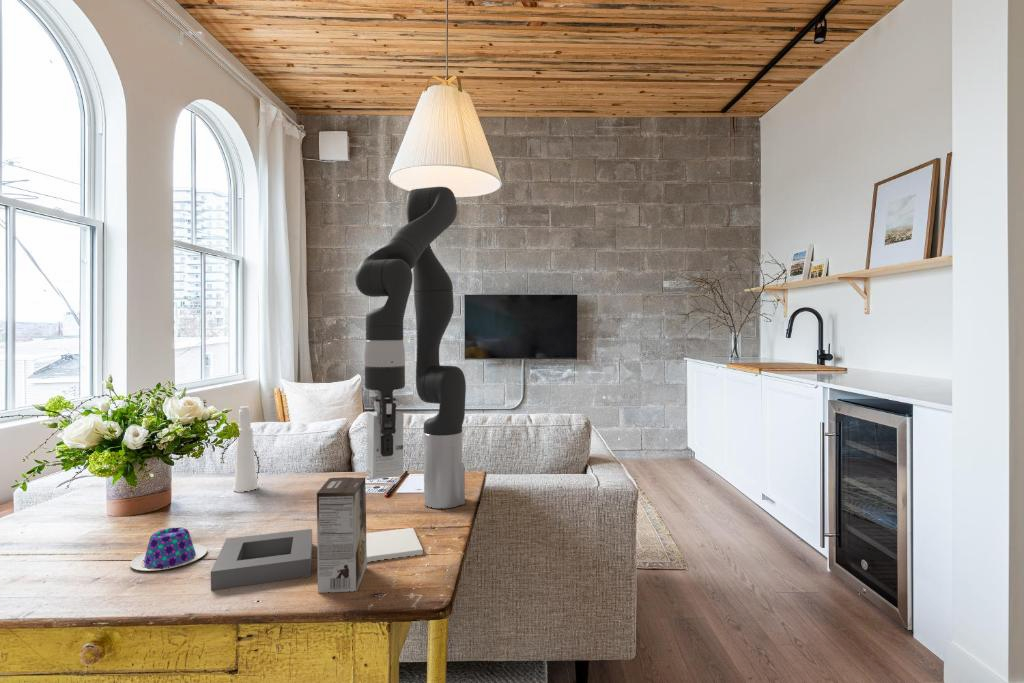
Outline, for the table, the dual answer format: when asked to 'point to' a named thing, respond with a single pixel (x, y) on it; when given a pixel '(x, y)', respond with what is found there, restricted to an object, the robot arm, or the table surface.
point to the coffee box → (341, 534)
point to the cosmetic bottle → (245, 454)
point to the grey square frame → (263, 559)
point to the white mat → (392, 544)
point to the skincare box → (375, 461)
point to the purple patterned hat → (169, 550)
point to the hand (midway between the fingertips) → (385, 452)
